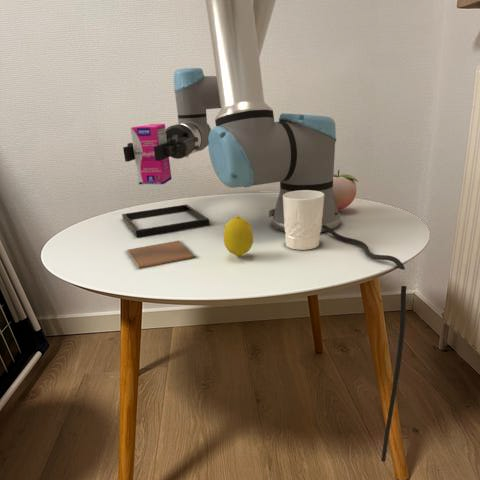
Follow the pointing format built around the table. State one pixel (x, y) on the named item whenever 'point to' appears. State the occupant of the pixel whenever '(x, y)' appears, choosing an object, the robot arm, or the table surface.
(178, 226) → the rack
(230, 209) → the table surface
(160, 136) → the supplement box
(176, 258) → the mat
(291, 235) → the white cup
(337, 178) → the decorative fruit
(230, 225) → the lemon
